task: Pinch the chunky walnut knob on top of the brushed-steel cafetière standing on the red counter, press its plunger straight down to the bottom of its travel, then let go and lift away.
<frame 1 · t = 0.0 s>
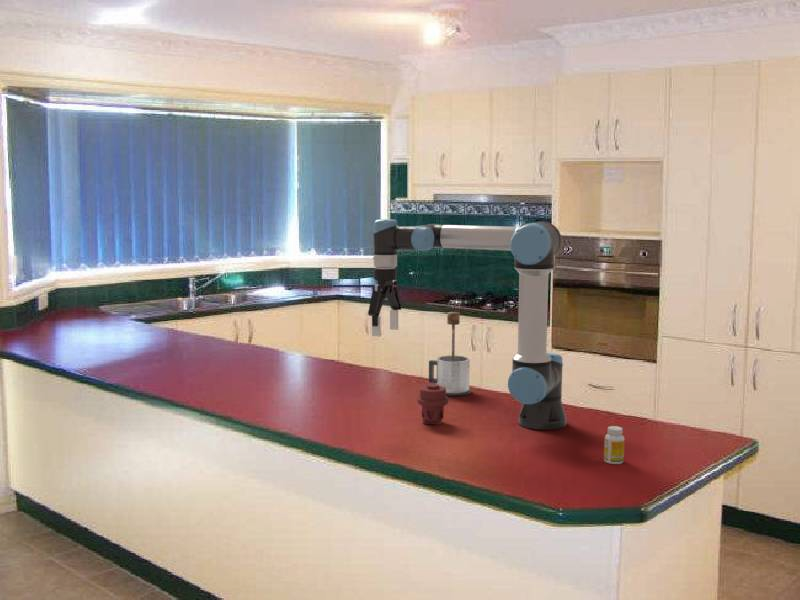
hand: (385, 332, 290), 28 cm above the counter, fingers open, 13 cm apart
supplement bottle: (613, 462, 248), on the counter
mechanical component: (432, 423, 287), on the counter
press: (452, 392, 327), on the counter
plunger: (453, 341, 324), point 19 cm above the counter, slide at 0.0 cm
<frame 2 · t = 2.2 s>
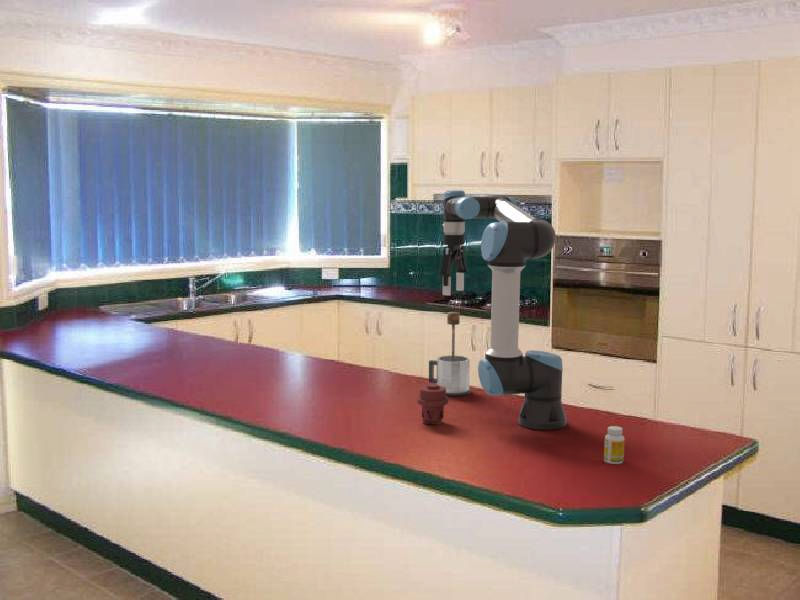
hand: (453, 292, 321), 37 cm above the counter, fingers open, 13 cm apart
nothing on the counter moved.
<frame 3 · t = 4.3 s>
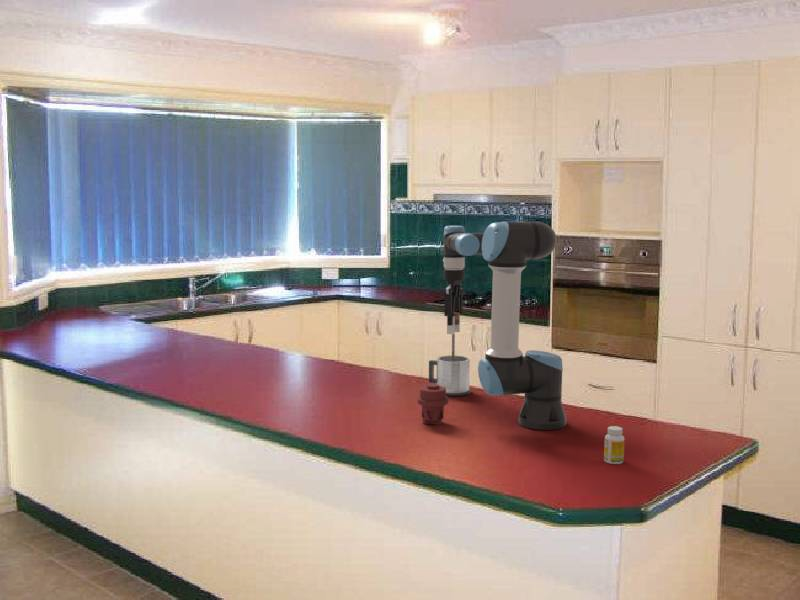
hand: (453, 332, 324), 22 cm above the counter, fingers closed on plunger, 4 cm apart
plunger: (453, 341, 324), point 19 cm above the counter, slide at 0.0 cm, touching gripper
everything else where it was.
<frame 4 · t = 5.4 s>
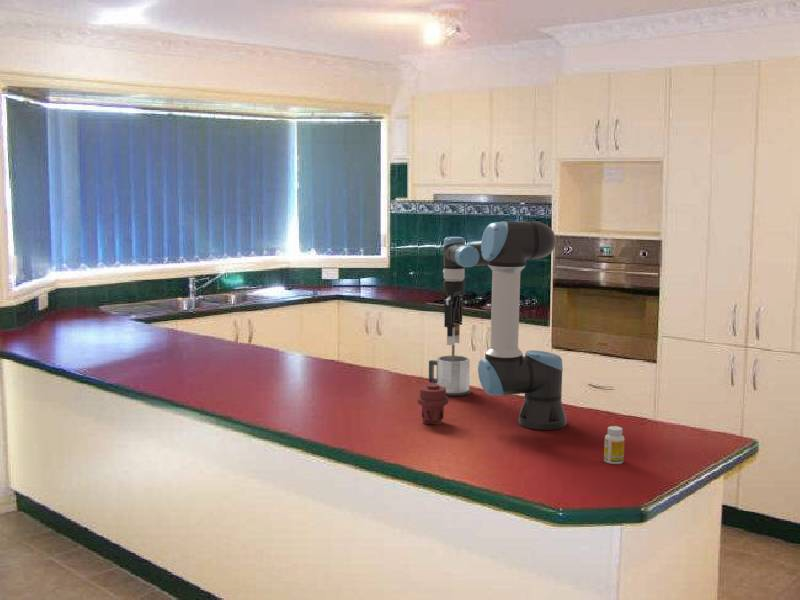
hand: (453, 343, 324), 18 cm above the counter, fingers closed on plunger, 4 cm apart
plunger: (453, 351, 325), point 15 cm above the counter, slide at 4.0 cm, touching gripper
everything else where it was.
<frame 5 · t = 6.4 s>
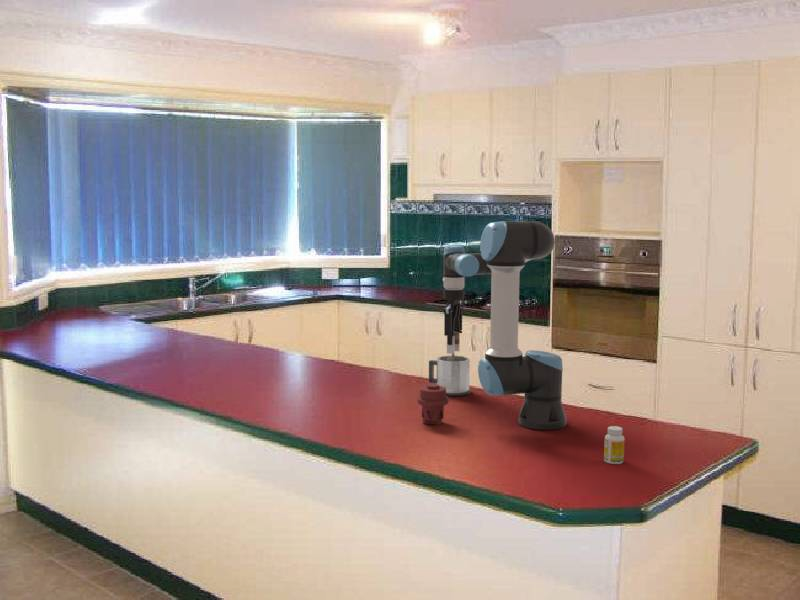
hand: (453, 352, 325), 15 cm above the counter, fingers closed on plunger, 4 cm apart
plunger: (453, 360, 325), point 12 cm above the counter, slide at 7.1 cm, touching gripper
everything else where it was.
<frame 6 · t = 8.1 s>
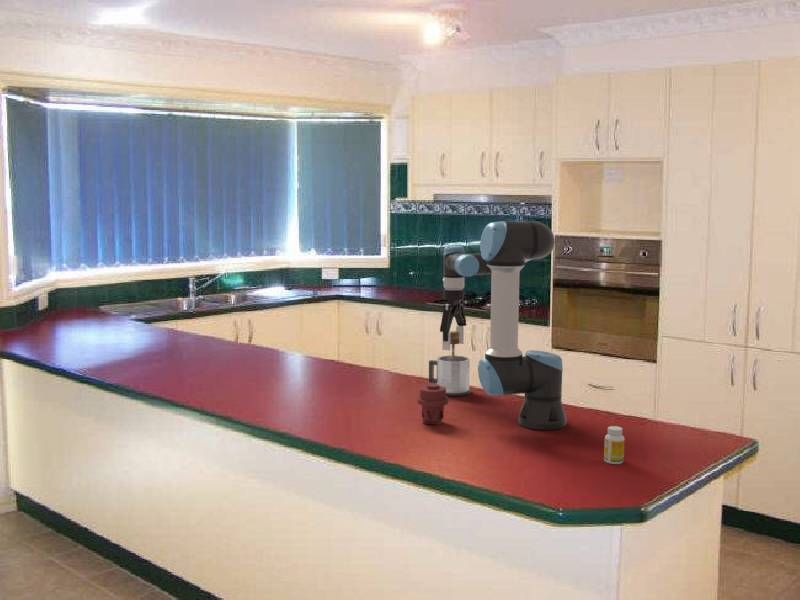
hand: (453, 346, 324), 17 cm above the counter, fingers open, 13 cm apart
plunger: (453, 360, 325), point 12 cm above the counter, slide at 7.1 cm
everything else where it was.
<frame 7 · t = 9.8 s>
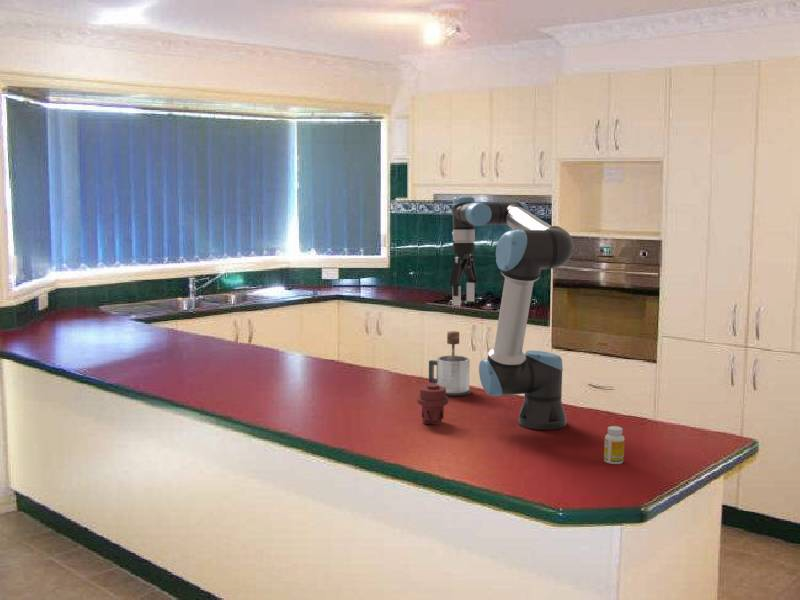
hand: (463, 303, 309), 35 cm above the counter, fingers open, 13 cm apart
nothing on the counter moved.
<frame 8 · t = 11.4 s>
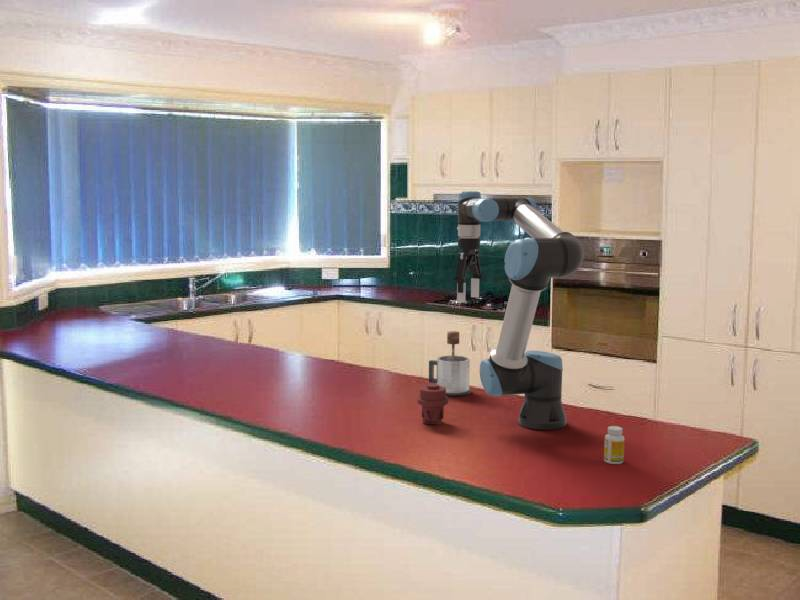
hand: (468, 299, 304), 37 cm above the counter, fingers open, 13 cm apart
nothing on the counter moved.
at the end: plunger slide at 7.1 cm; the gripper is holding nothing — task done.
